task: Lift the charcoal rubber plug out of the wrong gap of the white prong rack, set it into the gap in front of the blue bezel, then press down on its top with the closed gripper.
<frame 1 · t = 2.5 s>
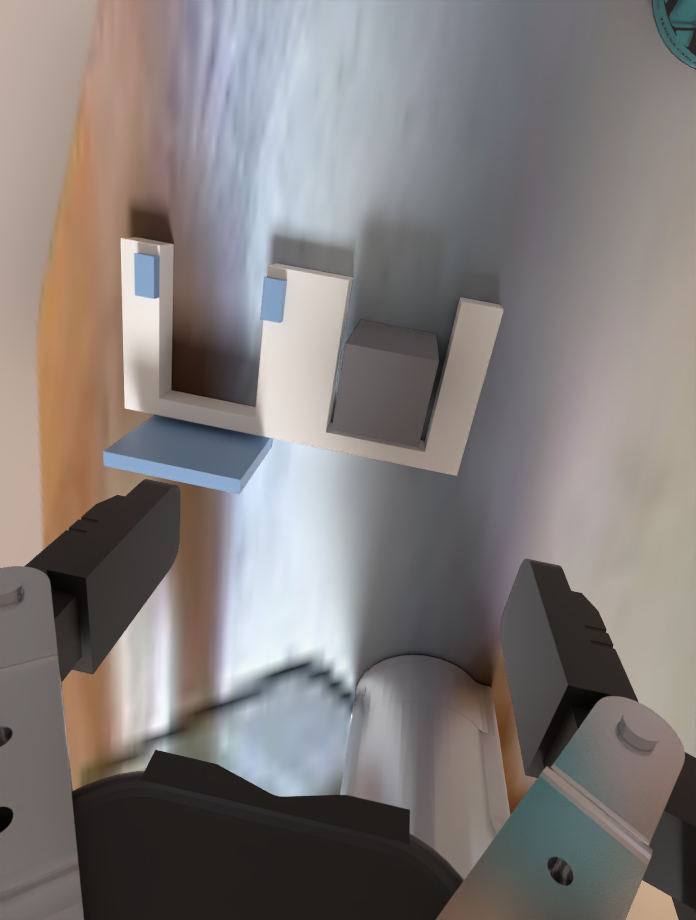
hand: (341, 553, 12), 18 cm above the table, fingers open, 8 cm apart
plug: (391, 363, 28), resting in white prong rack
white prong rack: (305, 347, 29), on the table
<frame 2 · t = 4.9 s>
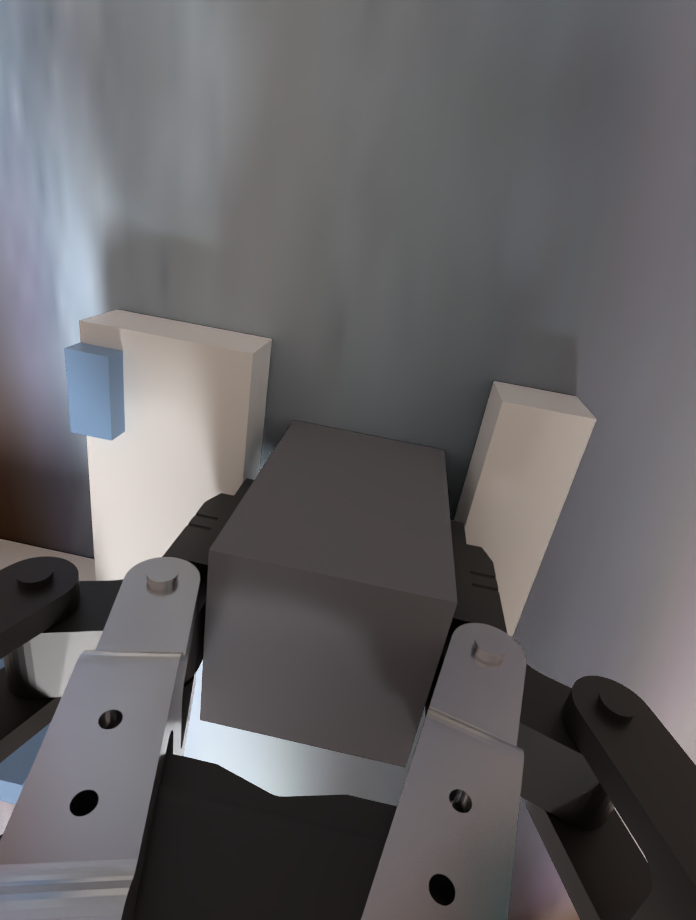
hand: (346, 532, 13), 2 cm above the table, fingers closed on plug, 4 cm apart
plug: (355, 500, 15), resting in white prong rack, touching gripper
white prong rack: (189, 466, 15), on the table
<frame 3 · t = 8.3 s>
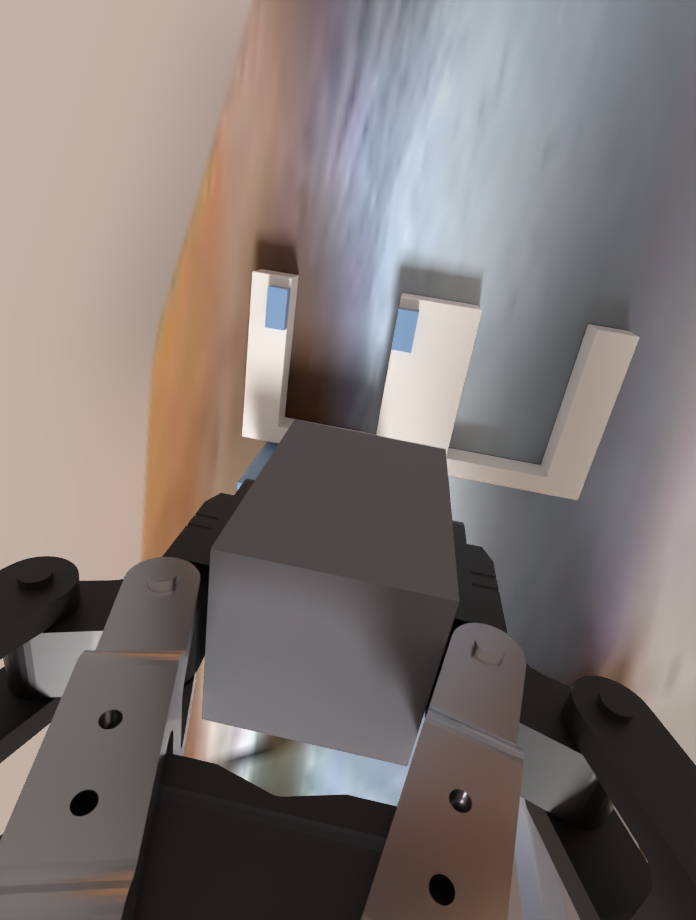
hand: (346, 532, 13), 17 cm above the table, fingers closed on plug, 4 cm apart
plug: (356, 499, 15), point 16 cm above the table, touching gripper
white prong rack: (424, 374, 29), on the table
when the fingers open (3 cm above the table, at t = 11.7 s): plug drops 1 cm, resting in white prong rack.
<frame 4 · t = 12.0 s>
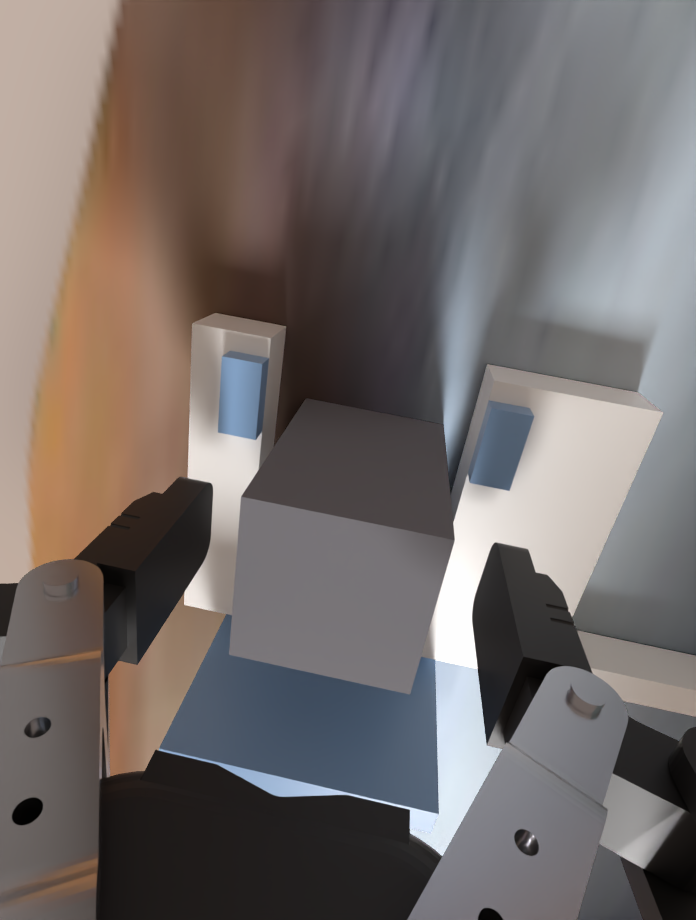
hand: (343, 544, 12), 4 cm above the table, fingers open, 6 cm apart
plug: (362, 472, 16), resting in white prong rack
white prong rack: (517, 506, 16), on the table
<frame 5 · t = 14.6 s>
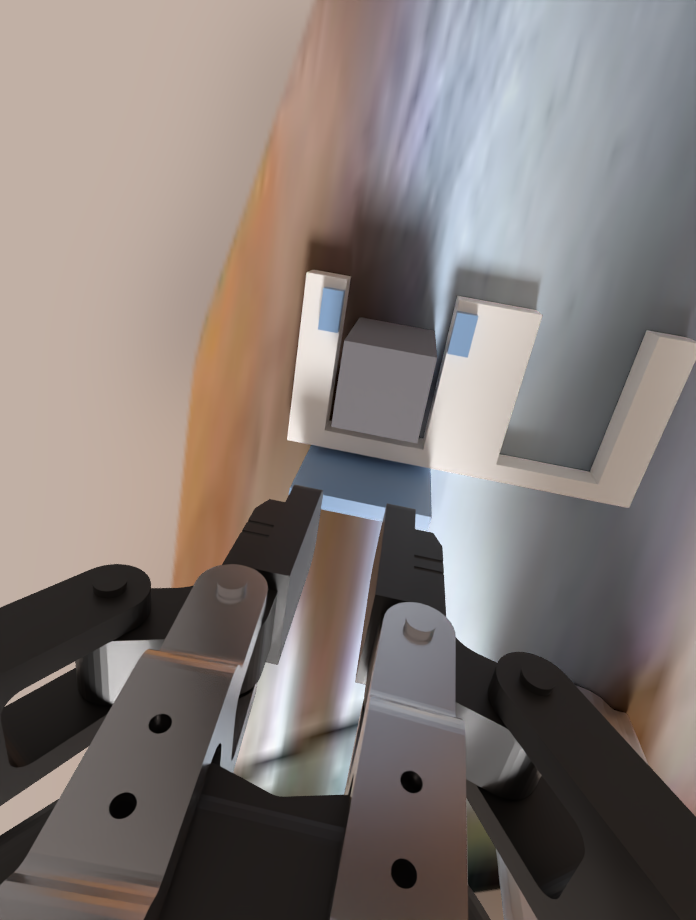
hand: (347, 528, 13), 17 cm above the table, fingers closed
plug: (390, 360, 29), resting in white prong rack
white prong rack: (476, 378, 28), on the table
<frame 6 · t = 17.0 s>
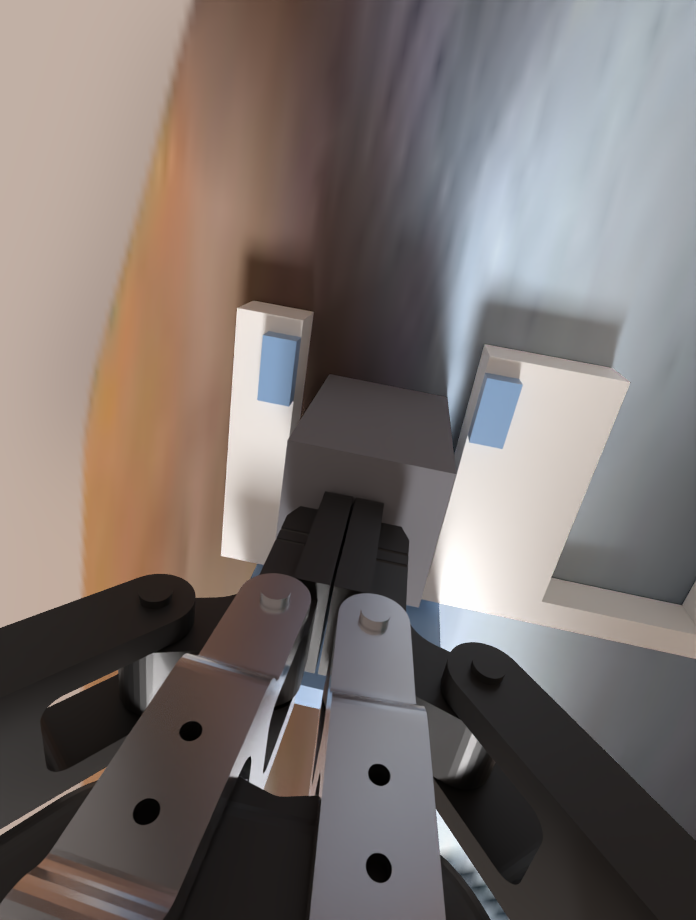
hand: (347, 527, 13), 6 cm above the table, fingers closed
plug: (377, 438, 18), resting in white prong rack, touching gripper
white prong rack: (510, 469, 18), on the table
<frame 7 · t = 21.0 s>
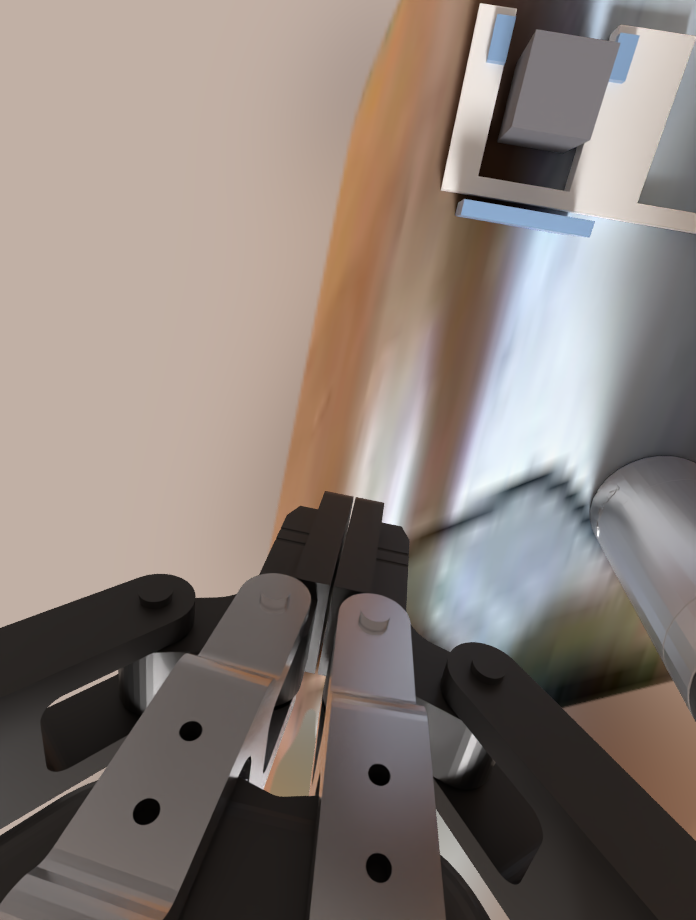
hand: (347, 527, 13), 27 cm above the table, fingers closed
plug: (539, 109, 31), resting in white prong rack
white prong rack: (619, 123, 31), on the table
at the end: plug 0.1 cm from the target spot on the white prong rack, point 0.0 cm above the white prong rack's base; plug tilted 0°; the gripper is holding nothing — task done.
